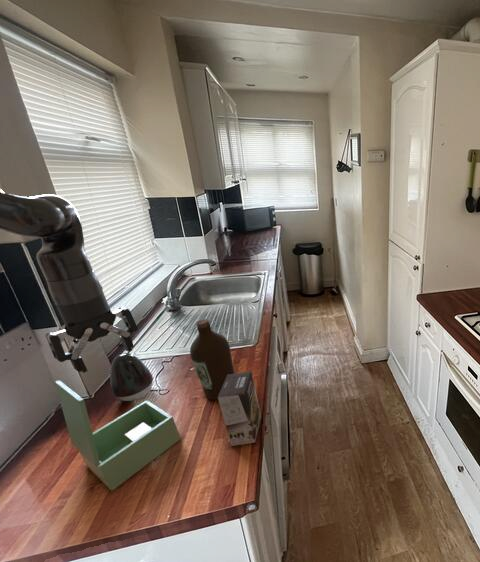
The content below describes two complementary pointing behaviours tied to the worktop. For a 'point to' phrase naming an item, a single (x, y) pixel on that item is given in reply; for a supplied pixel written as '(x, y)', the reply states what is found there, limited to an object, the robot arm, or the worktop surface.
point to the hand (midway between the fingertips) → (107, 360)
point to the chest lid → (77, 422)
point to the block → (137, 432)
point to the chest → (131, 457)
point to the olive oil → (211, 359)
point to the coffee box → (240, 408)
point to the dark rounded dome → (130, 377)
